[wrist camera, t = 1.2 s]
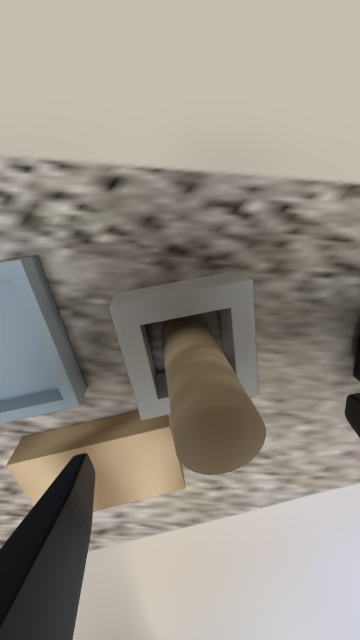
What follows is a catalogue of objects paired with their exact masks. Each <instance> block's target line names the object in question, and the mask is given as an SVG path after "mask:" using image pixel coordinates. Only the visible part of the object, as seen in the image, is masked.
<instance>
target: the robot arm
mask: <svg viewBox="0 0 360 640" xmlns="http://www.w3.org/2000/svg"><path fill="white" fill-rule="evenodd" d="M354 377H355V378H356V379H357V380H358V381H360V338H359V345H358V352H357V359H356V366H355V374H354ZM345 416H346V418H347V420H348V422H349V423H350V425H351V426H352V428H353V429H354V430H355V432H356V433H357V435H358V436H359V438H360V393H355V394H350V395H348V396H347V400H346V407H345ZM95 477H96V475H95V469H94V466H93V464H92V462H91V459H90V457H89V455H88V454H87V453H82V454H77V455H74V456H73V457H72V458H71V459H70V461H69V462H68V463H67V465H66V466H65V467H64V468H63V470H62V471H61V472H60V474H59V475H58V476H57V477H56V479H55V480H54V481H53V482H52V484H51V485H50V486H49V488H48V489H47V490H46V491H45V493H44V494H43V495H42V496H41V498H40V499H39V500H38V502H37V503H36V504H35V505H34V507H33V508H32V509H31V510H30V512H29V513H28V514H27V516H26V517H25V518H24V519H23V521H22V522H21V523H20V524H19V526H18V527H17V528H16V530H15V531H14V532H13V533H12V535H11V536H10V537H9V538H8V540H7V541H6V542H5V544H4V545H3V546H2V547H1V549H0V640H72V639H73V633H74V627H75V621H76V616H77V610H78V604H79V598H80V593H81V587H82V581H83V576H84V570H85V564H86V558H87V553H88V547H89V541H90V535H91V526H92V515H93V502H94V490H95Z"/></svg>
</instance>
